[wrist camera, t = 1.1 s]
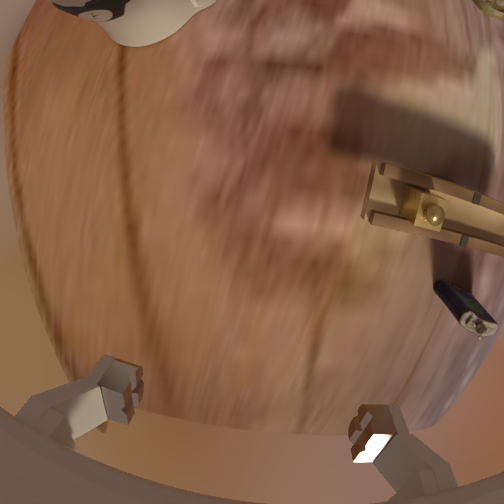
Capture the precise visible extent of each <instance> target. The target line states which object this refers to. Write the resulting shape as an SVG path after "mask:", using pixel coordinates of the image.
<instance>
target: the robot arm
mask: <svg viewBox="0 0 504 504" xmlns="http://www.w3.org/2000/svg"><path fill="white" fill-rule="evenodd" d="M47 1H50V2H52V3H53V5H54V6H55V7H57V8H58V9H60V10H63V11H65V12H67V13H70V14H72V15H75V16H77V17H80V18H82V19H85V20H89V21H93V22H95V23H97V24H98V25H99V26H101V27H102V28H103V29H104V30H105V32H106V33H107V34H108V36H109V37H110V38H111V39H112V40H114V41H115V42H117V43H119V44H121V45H124V46H130V47H139V46H145V45H150V44H153V43H156V42H158V41H161V40H163V39H165V38H166V37H168V36H170V35H171V34H173V33H174V32H176V31H177V30H178V29H180V28H181V27H182V26H183V25H184V24H185V23H186V22H187V21H188V20H189V19H190V18H191V17H192V16H193V15H194V14H195V13H197V12H198V11H200V10H202V9H204V8H206V7H208V6H210V5H212V4H213V3H215V2H216V1H217V0H47ZM142 375H143V369H142V367H141V366H138V365H135V364H132V363H129V362H127V361H124V360H121V359H118V358H115V357H112V356H109V355H106V354H105V355H103V356H102V357H101V358H100V360H99V361H98V362H97V363H96V365H95V366H94V367H93V369H92V370H91V371H90V373H89V374H88V375H87V377H86V378H85V379H84V380H83V379H79V380H76V381H73V382H70V383H68V384H65V385H62V386H59V387H57V388H54V389H51V390H48V391H45V392H42V393H39V394H36V395H33V396H31V397H30V398H29V400H28V401H27V402H26V403H25V405H24V406H23V407H22V408H21V410H20V411H19V412H18V413H17V414H16V416H15V417H14V416H13V415H11V414H10V413H8V412H7V411H5V410H4V409H3V408H1V407H0V504H265V503H254V502H246V501H239V500H232V499H226V498H220V497H215V496H210V495H205V494H200V493H195V492H191V491H187V490H183V489H179V488H175V487H171V486H167V485H164V484H160V483H157V482H154V481H151V480H147V479H144V478H141V477H138V476H135V475H132V474H130V473H127V472H124V471H121V470H119V469H116V468H113V467H111V466H108V465H106V464H103V463H101V462H99V461H96V460H94V459H92V458H89V457H87V456H85V455H83V454H81V453H79V451H78V448H77V447H76V445H75V442H74V439H75V438H77V437H78V436H81V435H82V434H84V433H86V432H87V431H89V430H91V429H92V428H94V427H96V426H98V425H100V424H101V423H103V422H105V421H106V420H108V419H111V420H114V421H116V422H120V423H122V424H126V425H129V423H130V421H131V419H132V417H133V415H134V413H135V412H134V407H135V406H138V405H139V403H140V401H141V399H142V396H143V391H144V382H143V381H142V380H141V377H142ZM107 418H108V419H107ZM348 436H349V440H350V441H351V442H352V443H353V444H354V445H353V446H352V448H351V453H352V459H353V462H373V464H374V466H375V467H376V468H377V469H378V470H379V472H380V473H381V474H382V475H383V476H384V478H385V479H386V480H387V481H388V483H390V485H391V486H392V487H393V489H394V490H395V491H396V492H397V493H396V494H395V495H394V496H392V497H391V498H390V499H389V500H388V501H387V502H380V503H371V504H504V472H501V473H499V474H496V475H493V476H491V477H488V478H485V479H482V480H479V481H476V482H473V483H470V484H467V485H464V486H460V487H458V485H457V482H456V480H455V477H454V474H453V471H452V469H451V466H450V464H449V463H447V462H446V461H445V460H444V459H442V458H441V457H440V456H439V455H438V454H436V453H435V452H434V451H433V450H431V449H430V448H429V447H428V446H427V445H425V444H424V443H423V442H422V441H420V440H419V439H418V438H417V437H416V436H414V435H413V434H409V431H408V428H407V425H406V423H405V420H404V417H403V415H402V412H401V409H400V407H399V406H398V405H397V404H392V405H391V404H386V405H385V404H362V405H361V406H360V407H359V409H358V415H357V416H356V417H354V418H353V419H352V421H351V423H350V426H349V430H348Z"/></svg>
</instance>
